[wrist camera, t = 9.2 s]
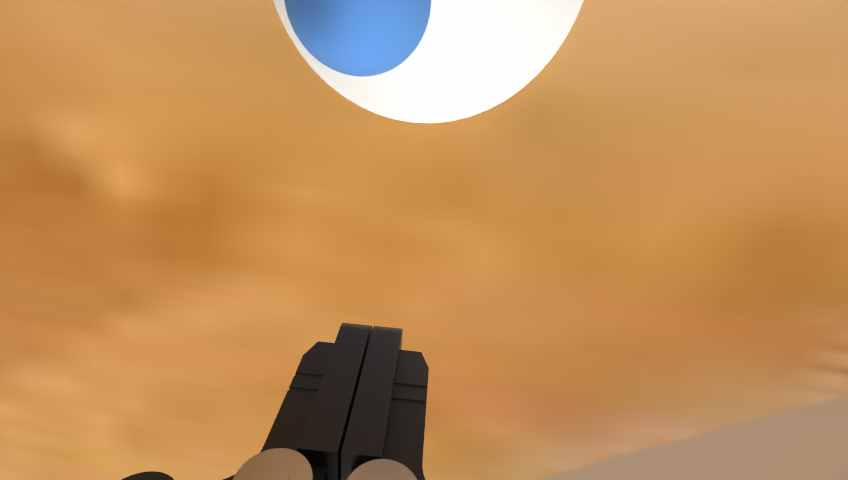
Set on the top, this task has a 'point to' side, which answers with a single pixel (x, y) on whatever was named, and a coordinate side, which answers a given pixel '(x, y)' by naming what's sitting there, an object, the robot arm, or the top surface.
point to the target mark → (459, 59)
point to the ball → (359, 32)
